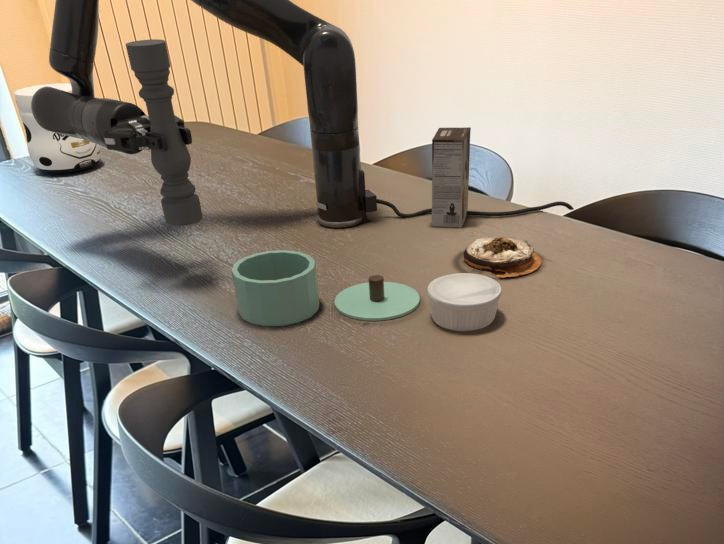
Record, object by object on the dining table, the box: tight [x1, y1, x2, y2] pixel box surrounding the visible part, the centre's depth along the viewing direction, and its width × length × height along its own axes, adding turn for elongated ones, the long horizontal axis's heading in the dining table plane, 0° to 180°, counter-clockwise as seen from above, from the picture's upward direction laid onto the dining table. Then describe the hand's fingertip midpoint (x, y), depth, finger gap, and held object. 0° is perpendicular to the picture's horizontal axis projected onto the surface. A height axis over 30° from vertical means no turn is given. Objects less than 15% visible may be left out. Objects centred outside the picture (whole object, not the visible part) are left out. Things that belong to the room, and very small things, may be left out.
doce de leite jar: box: [13, 82, 102, 174], centre depth 179 cm, size 17×17×18 cm
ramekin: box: [426, 272, 503, 332], centre depth 108 cm, size 11×11×5 cm
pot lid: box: [333, 274, 421, 322], centre depth 113 cm, size 14×14×5 cm
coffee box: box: [431, 127, 472, 228], centre depth 139 cm, size 9×6×16 cm
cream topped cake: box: [463, 236, 542, 279], centre depth 125 cm, size 15×15×4 cm
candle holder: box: [125, 39, 204, 227], centre depth 110 cm, size 6×6×25 cm
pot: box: [230, 249, 321, 327], centre depth 112 cm, size 13×13×8 cm
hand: (177, 140), depth 109 cm, fingers closed on candle holder, 4 cm apart
